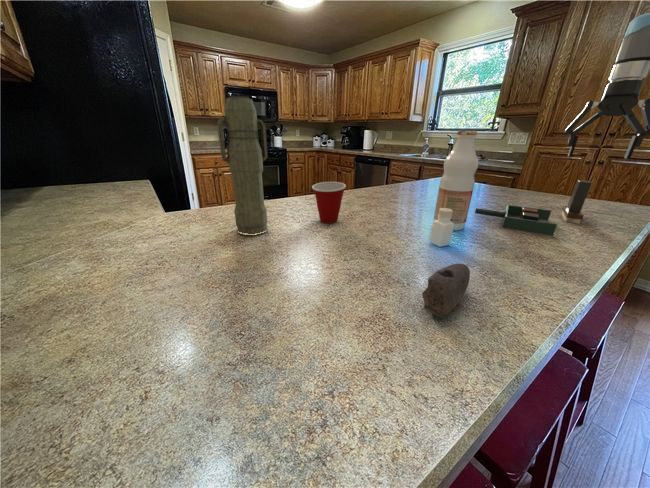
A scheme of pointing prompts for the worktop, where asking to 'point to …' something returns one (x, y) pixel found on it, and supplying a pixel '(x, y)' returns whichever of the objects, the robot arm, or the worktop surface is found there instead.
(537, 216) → the crumb block
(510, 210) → the dustpan
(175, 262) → the worktop surface
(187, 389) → the worktop surface
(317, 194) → the plastic cup
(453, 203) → the fruit juice
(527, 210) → the crumb block
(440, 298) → the perforated stone tool
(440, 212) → the pepper shaker
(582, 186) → the brush
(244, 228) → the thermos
